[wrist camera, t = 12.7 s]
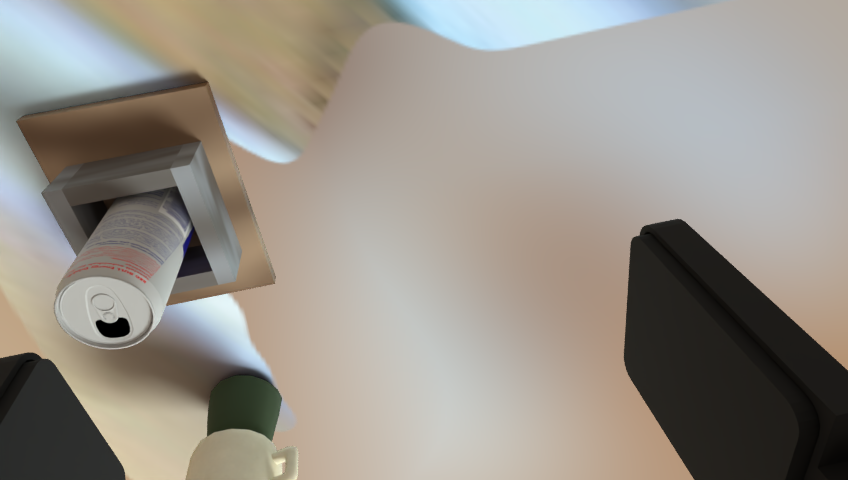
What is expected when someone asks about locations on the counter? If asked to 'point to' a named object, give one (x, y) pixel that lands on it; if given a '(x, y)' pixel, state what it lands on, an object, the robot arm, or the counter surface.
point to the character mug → (242, 435)
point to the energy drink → (125, 270)
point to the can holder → (154, 179)
